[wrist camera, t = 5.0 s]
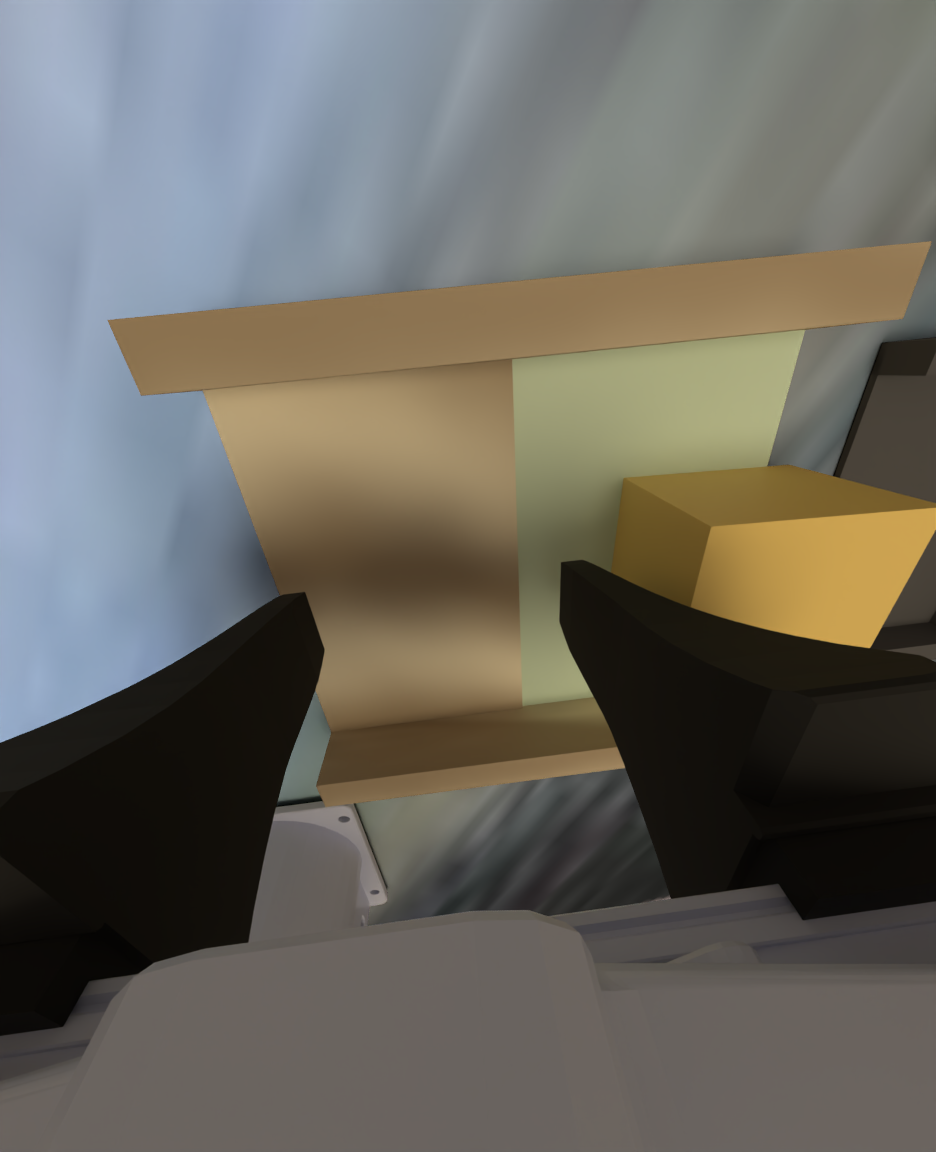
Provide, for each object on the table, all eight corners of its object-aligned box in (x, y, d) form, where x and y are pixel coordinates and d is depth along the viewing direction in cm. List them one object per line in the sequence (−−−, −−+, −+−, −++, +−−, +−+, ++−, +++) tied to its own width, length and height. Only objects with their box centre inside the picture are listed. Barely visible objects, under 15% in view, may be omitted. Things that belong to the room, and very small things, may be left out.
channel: (691, 692, 17) (739, 752, 14) (343, 736, 16) (325, 807, 14) (797, 276, 10) (931, 241, 7) (199, 334, 9) (107, 319, 7)
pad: (696, 670, 16) (707, 682, 15) (518, 693, 16) (522, 706, 15) (782, 332, 10) (805, 329, 10) (506, 360, 10) (511, 359, 10)
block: (741, 607, 14) (847, 688, 10) (604, 619, 14) (664, 707, 10) (788, 465, 11) (948, 506, 8) (623, 477, 11) (711, 526, 8)
